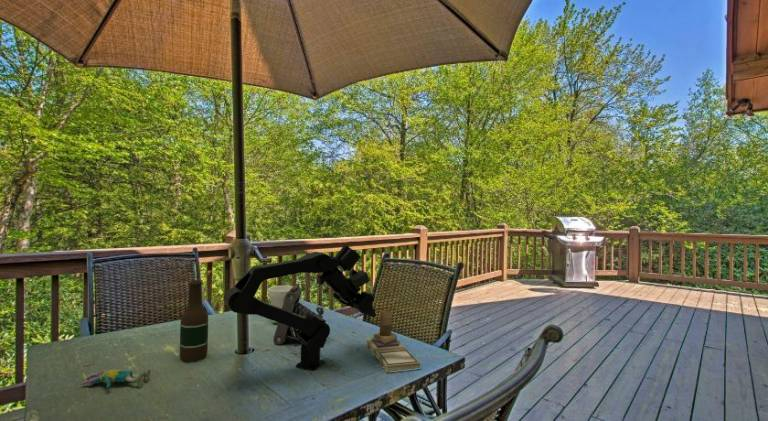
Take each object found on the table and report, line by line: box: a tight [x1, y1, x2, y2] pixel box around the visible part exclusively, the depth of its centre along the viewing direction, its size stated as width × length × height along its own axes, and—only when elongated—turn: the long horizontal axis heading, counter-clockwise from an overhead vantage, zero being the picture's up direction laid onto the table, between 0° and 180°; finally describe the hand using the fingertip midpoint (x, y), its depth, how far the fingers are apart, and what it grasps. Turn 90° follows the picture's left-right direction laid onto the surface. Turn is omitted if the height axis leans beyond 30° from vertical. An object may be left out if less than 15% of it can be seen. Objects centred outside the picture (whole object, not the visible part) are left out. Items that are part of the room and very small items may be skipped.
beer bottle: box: [179, 279, 209, 363], centre depth 117 cm, size 8×8×24 cm
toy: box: [80, 369, 151, 389], centre depth 99 cm, size 11×5×15 cm
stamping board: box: [365, 337, 421, 372], centre depth 122 cm, size 24×10×2 cm, turn 17°
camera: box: [272, 283, 325, 346], centre depth 134 cm, size 11×17×20 cm, turn 89°
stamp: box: [373, 309, 398, 345], centre depth 128 cm, size 6×6×10 cm
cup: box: [267, 285, 294, 325], centre depth 154 cm, size 11×11×14 cm
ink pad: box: [371, 337, 399, 348], centre depth 128 cm, size 8×8×1 cm
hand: (367, 312), depth 124 cm, fingers open, 9 cm apart
